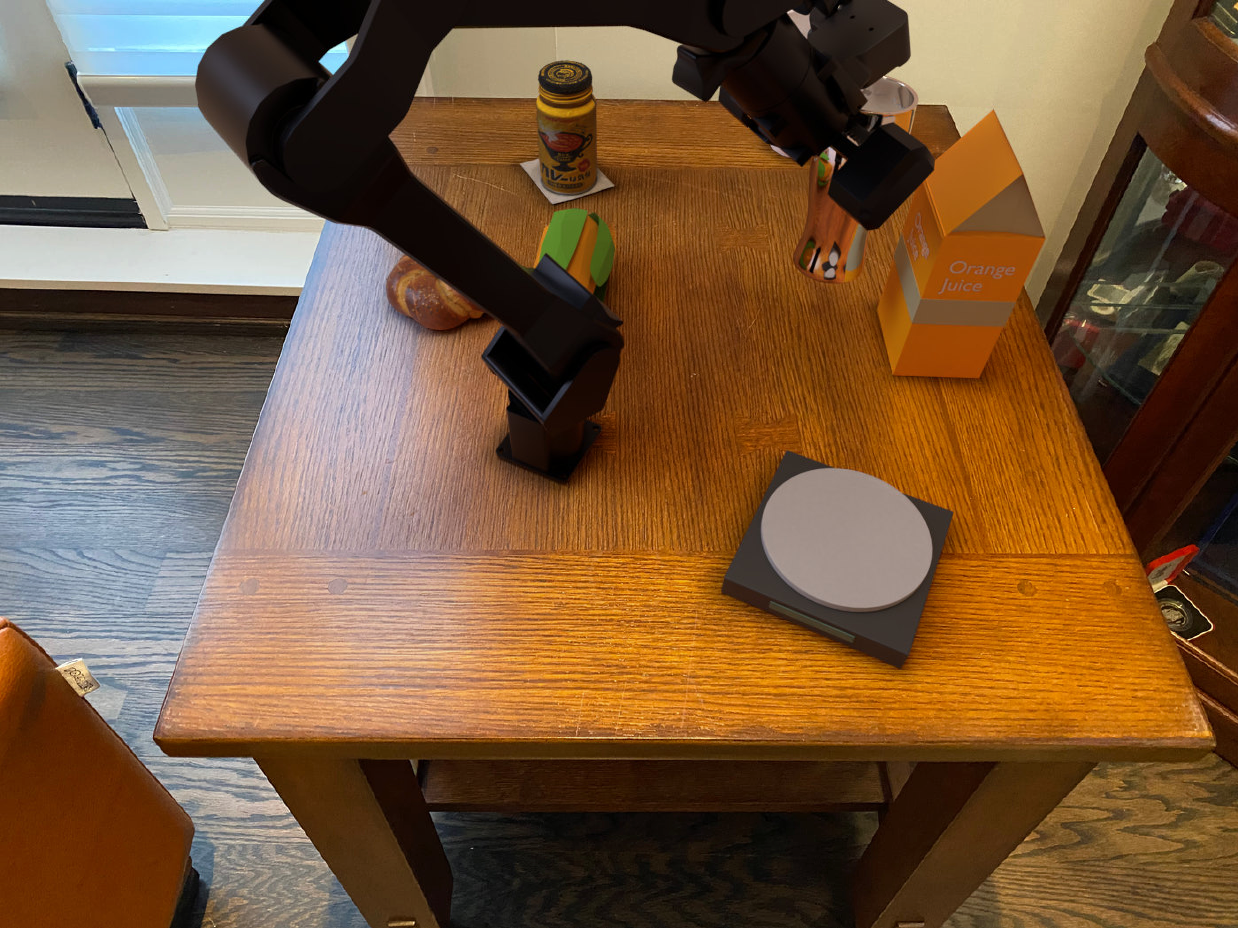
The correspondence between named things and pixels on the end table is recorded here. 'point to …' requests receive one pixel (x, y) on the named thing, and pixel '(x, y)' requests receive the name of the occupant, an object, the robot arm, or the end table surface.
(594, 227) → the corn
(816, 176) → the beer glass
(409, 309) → the pretzel
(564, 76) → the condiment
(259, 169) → the robot arm
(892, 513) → the scale
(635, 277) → the end table surface
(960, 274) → the orange juice
